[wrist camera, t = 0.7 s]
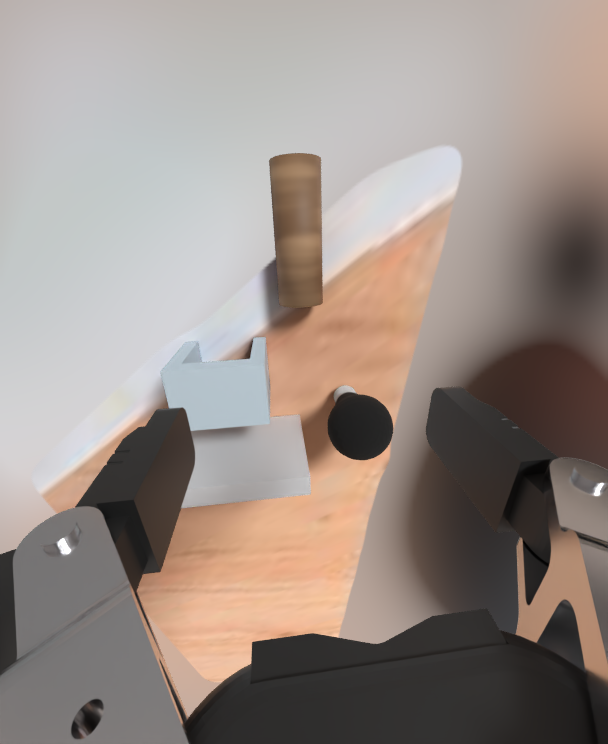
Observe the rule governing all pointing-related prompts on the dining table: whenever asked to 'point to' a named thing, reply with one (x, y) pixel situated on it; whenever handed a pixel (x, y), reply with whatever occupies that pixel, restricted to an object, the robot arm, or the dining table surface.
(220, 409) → the sleeve block
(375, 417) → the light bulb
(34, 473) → the dining table surface
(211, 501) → the base plate
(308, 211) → the dowel
